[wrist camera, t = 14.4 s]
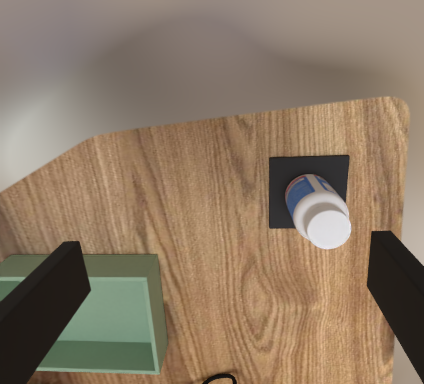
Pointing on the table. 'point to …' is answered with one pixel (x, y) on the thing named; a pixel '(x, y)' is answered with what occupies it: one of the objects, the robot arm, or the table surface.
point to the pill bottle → (318, 211)
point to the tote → (106, 315)
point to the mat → (296, 166)
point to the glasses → (220, 377)
